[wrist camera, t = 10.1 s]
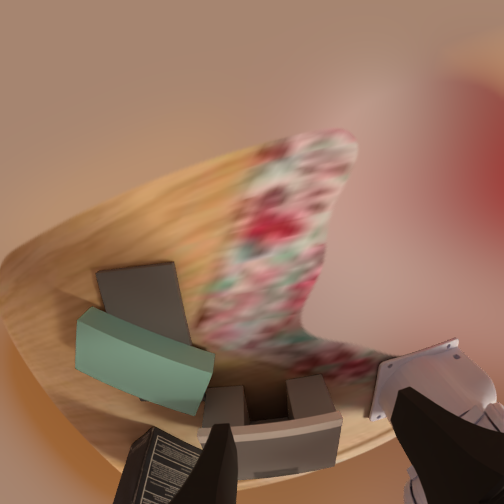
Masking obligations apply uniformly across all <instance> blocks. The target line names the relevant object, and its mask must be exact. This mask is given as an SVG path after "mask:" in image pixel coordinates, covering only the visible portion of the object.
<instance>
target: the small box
mask: <svg viewBox="0 0 504 504" xmlns="http://www.w3.org/2000/svg"><path fill="white" fill-rule="evenodd" d="M201 452H202V450H200V449H198V448H196V447H193V446H191V445H189V444H187V443H185V442H183V441H181V440H179V439H177V438H175V437H173V436H171V435H169V434H167V433H165V432H164V431H162V430H160V429H158V428H156V427H152V428H151V429H149V431H148V432H146V434H144V435H143V436H142V437H141V438H139V439H138V440H137V441H135V442H134V443H133V445H131V448H130V451H129V454H128V457H127V460H126V464H125V466H124V470H123V473H122V476H121V479H120V482H119V486H118V489H117V492H116V495H115V498H114V502H113V504H168V503H169V502H170V501H171V500H172V498H173V497H174V496H175V495H176V493H177V492H178V491H179V489H180V488H181V487H182V485H183V484H184V482H185V481H186V479H187V477H188V476H189V474H190V473H191V471H192V469H193V468H194V466H195V464H196V462H197V460H198V458H199V456H200V454H201Z"/></svg>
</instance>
